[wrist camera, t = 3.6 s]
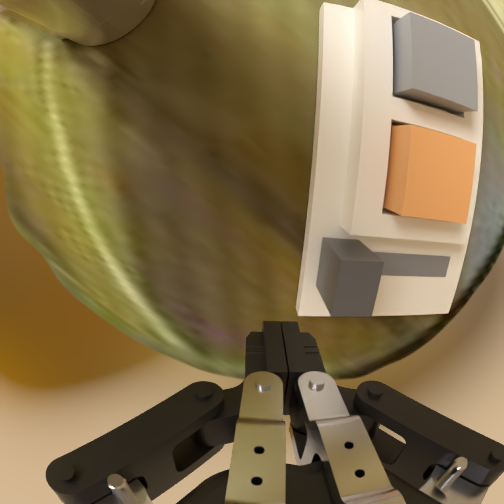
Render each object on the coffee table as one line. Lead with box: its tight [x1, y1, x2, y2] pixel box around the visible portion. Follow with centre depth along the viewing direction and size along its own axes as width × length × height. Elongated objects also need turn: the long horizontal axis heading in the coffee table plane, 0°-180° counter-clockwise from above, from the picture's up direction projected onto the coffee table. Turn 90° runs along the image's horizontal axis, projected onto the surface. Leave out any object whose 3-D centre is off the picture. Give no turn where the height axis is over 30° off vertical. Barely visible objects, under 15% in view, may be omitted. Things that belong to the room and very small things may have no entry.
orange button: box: [383, 125, 476, 224], centre depth 19 cm, size 6×6×3 cm
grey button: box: [392, 12, 478, 113], centre depth 17 cm, size 6×6×3 cm
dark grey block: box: [316, 237, 384, 317], centre depth 22 cm, size 3×4×5 cm
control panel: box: [296, 0, 483, 316], centre depth 22 cm, size 16×26×4 cm, turn 176°
